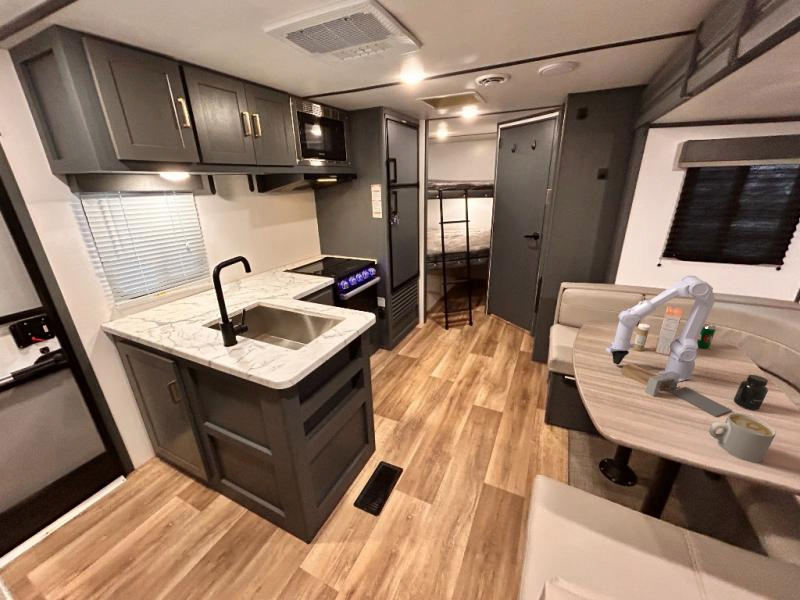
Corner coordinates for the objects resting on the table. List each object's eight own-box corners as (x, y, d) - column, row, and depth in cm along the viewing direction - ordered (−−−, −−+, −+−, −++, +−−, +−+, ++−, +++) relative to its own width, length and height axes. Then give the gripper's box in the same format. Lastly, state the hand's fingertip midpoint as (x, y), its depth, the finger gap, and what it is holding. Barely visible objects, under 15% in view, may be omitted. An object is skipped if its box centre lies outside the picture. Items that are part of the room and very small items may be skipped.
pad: (685, 387, 127) (685, 386, 127) (731, 411, 114) (732, 410, 114) (669, 392, 125) (670, 391, 125) (715, 416, 111) (715, 415, 111)
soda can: (696, 343, 162) (703, 322, 158) (709, 346, 159) (717, 325, 155) (694, 346, 159) (702, 325, 155) (708, 350, 156) (716, 328, 152)
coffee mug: (756, 445, 99) (768, 420, 96) (768, 467, 91) (782, 441, 88) (700, 429, 106) (710, 405, 103) (707, 448, 98) (717, 423, 95)
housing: (667, 385, 129) (672, 371, 127) (675, 389, 126) (680, 375, 124) (645, 391, 125) (649, 377, 123) (652, 396, 123) (657, 381, 120)
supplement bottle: (755, 413, 113) (768, 385, 109) (729, 402, 119) (741, 375, 114) (762, 407, 116) (775, 380, 112) (737, 397, 122) (748, 370, 117)
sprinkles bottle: (644, 349, 157) (651, 325, 152) (641, 352, 155) (648, 327, 150) (634, 346, 161) (641, 322, 156) (630, 348, 158) (637, 324, 154)
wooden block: (626, 371, 140) (628, 362, 138) (663, 388, 128) (666, 378, 126) (620, 374, 137) (623, 365, 136) (658, 391, 126) (661, 381, 124)
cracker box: (656, 342, 164) (667, 305, 157) (671, 345, 161) (683, 308, 153) (653, 352, 155) (665, 313, 147) (669, 356, 151) (682, 316, 144)
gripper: (626, 330, 144) (619, 356, 149) (602, 335, 140) (596, 361, 144) (641, 337, 138) (634, 364, 142) (617, 342, 133) (610, 369, 138)
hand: (616, 363), depth 143 cm, fingers closed
